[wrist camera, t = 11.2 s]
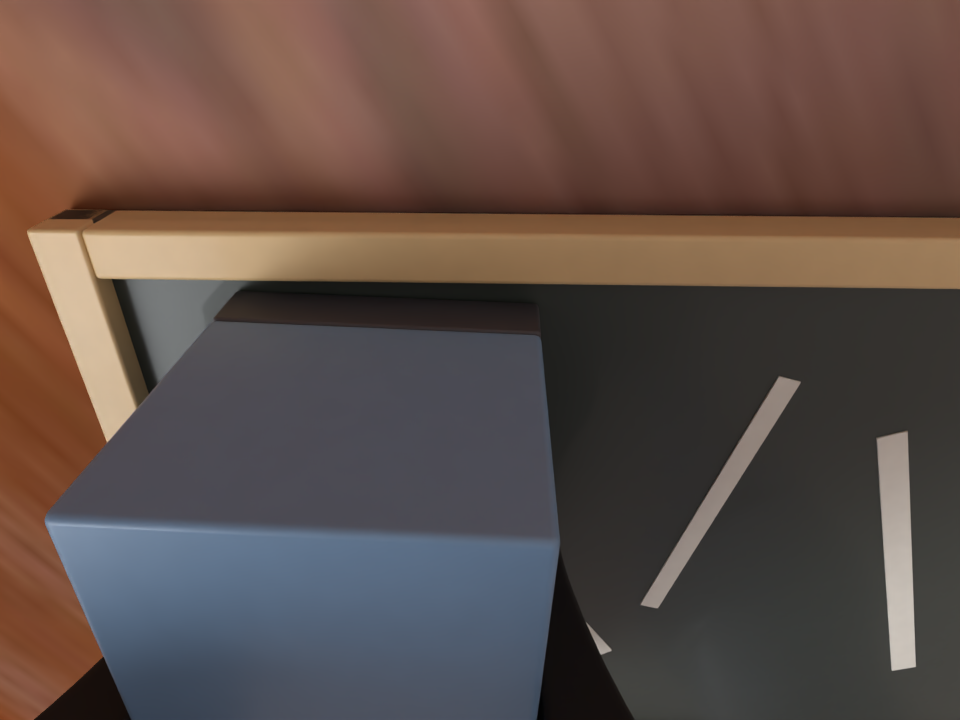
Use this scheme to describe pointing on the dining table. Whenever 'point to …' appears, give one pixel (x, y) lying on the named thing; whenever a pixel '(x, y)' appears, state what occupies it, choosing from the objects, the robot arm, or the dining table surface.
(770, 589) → the slate board
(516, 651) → the eraser
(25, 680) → the dining table surface
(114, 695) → the robot arm
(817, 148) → the dining table surface
